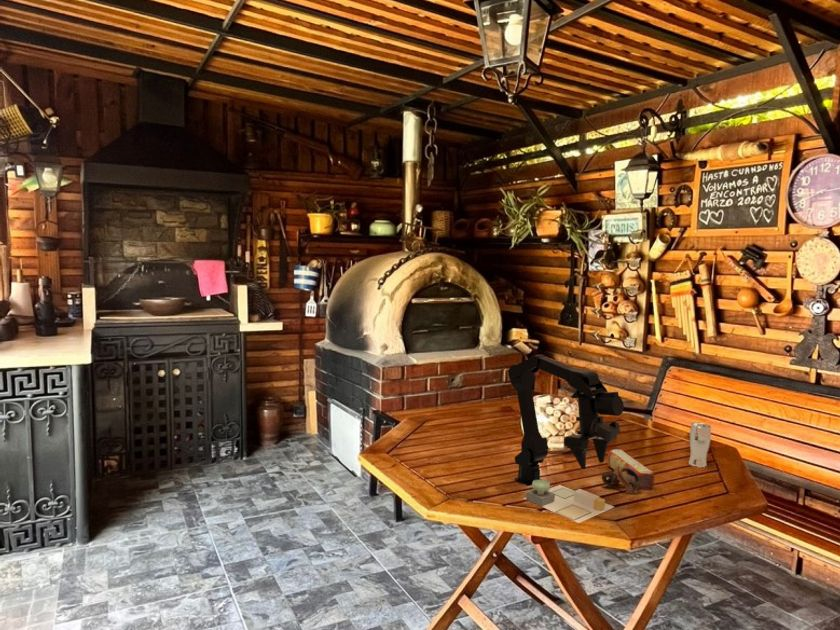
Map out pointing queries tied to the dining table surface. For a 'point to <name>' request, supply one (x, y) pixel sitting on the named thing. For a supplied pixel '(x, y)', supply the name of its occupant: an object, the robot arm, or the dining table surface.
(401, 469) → the dining table surface
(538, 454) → the robot arm
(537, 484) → the button
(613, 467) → the snack package
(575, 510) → the picture board
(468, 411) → the dining table surface
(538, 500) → the button housing
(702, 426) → the beer glass
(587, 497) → the marker
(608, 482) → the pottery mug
